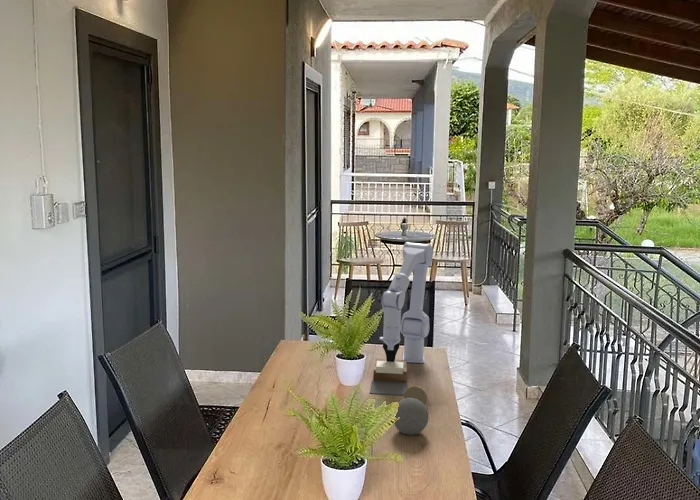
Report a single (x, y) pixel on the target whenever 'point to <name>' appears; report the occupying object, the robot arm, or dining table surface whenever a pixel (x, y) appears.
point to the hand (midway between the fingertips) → (390, 364)
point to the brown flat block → (390, 376)
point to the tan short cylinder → (416, 393)
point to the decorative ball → (411, 416)
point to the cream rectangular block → (389, 367)
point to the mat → (388, 388)
